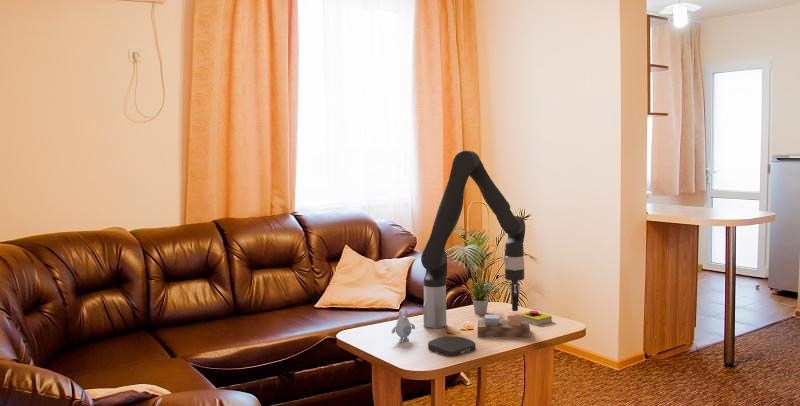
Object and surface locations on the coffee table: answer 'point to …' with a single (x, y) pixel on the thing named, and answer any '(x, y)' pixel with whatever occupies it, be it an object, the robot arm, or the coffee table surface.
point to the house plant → (480, 296)
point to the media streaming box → (451, 346)
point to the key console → (503, 329)
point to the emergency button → (537, 318)
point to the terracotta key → (514, 318)
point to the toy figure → (403, 327)
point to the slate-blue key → (491, 319)
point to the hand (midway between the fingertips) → (515, 310)
